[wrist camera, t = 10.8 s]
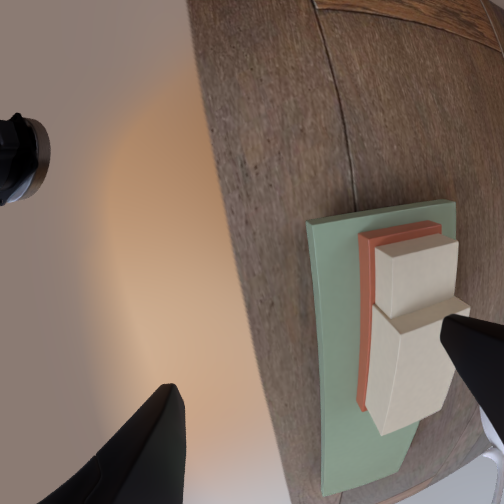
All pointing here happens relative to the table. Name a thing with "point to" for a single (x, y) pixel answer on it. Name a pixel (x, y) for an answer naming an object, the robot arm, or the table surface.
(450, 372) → the stepped block on base
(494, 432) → the pitcher
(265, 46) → the table surface
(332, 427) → the flat pale green board
